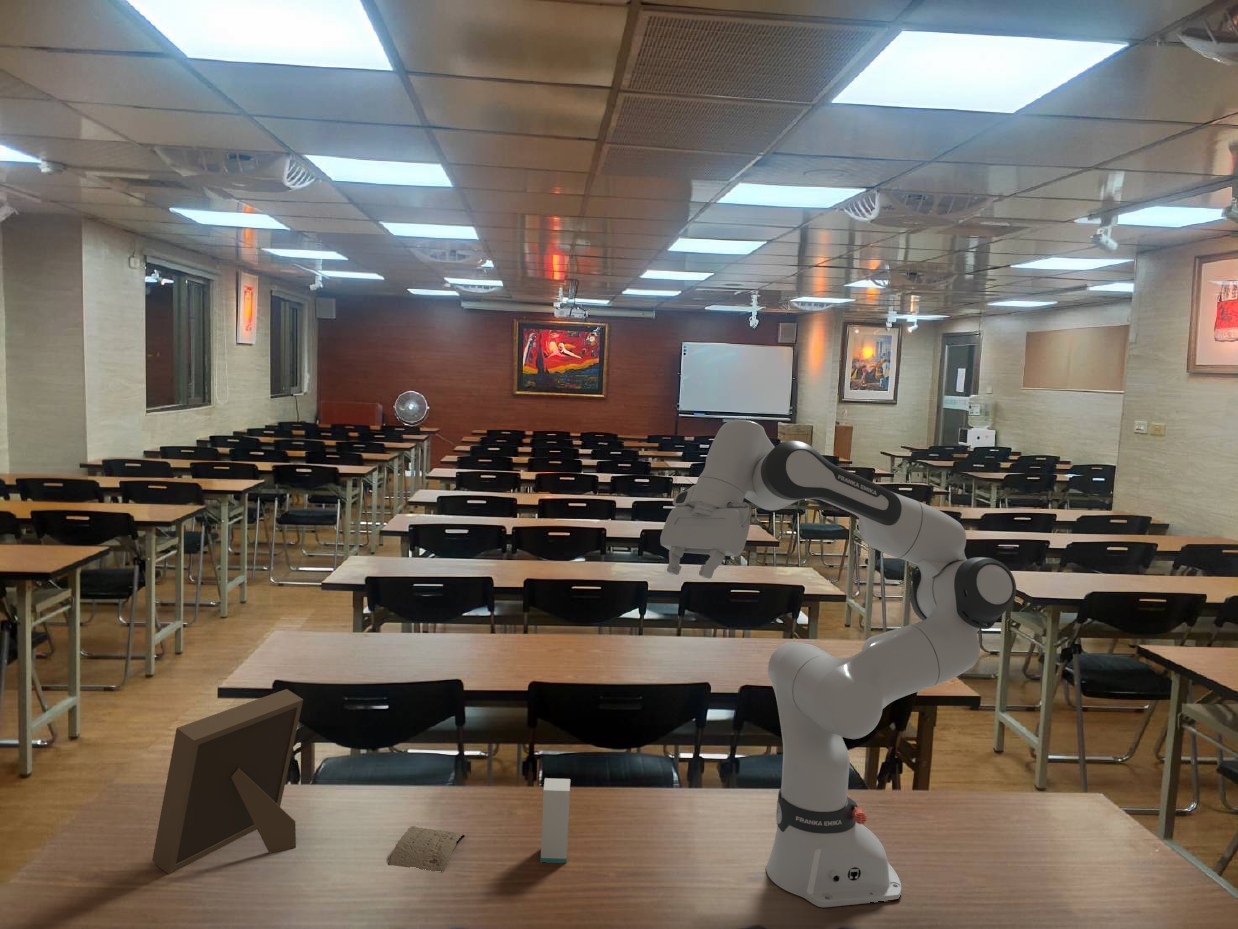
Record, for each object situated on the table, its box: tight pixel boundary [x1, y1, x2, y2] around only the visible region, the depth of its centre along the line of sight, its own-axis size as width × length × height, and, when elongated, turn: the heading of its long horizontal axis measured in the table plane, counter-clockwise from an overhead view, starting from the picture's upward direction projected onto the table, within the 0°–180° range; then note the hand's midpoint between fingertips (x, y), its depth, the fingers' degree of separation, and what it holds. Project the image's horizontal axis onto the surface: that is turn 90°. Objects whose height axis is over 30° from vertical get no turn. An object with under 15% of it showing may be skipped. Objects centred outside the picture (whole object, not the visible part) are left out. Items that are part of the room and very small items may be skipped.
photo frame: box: [151, 688, 304, 875], centre depth 147 cm, size 15×22×25 cm
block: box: [539, 777, 571, 864], centre depth 150 cm, size 4×4×13 cm
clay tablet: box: [388, 825, 464, 873], centre depth 151 cm, size 15×10×3 cm
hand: (687, 575), depth 148 cm, fingers open, 8 cm apart
